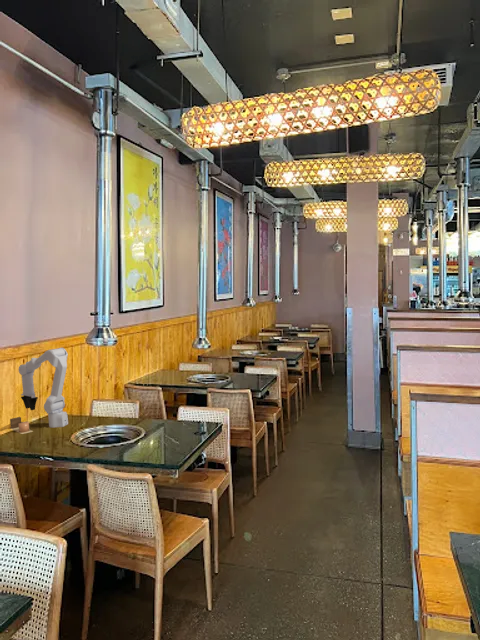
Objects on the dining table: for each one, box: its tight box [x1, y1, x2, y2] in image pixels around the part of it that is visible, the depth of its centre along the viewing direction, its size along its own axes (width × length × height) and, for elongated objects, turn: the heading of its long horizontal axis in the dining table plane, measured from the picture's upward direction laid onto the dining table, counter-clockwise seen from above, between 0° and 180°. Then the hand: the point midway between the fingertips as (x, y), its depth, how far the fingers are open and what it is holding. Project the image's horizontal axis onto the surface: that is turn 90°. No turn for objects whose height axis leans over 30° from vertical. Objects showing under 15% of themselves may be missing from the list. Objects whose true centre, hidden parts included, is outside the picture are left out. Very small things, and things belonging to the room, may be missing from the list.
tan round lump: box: [18, 421, 30, 432], centre depth 260 cm, size 5×5×4 cm
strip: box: [9, 416, 34, 435], centre depth 264 cm, size 20×6×6 cm, turn 42°
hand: (30, 409), depth 275 cm, fingers open, 7 cm apart
